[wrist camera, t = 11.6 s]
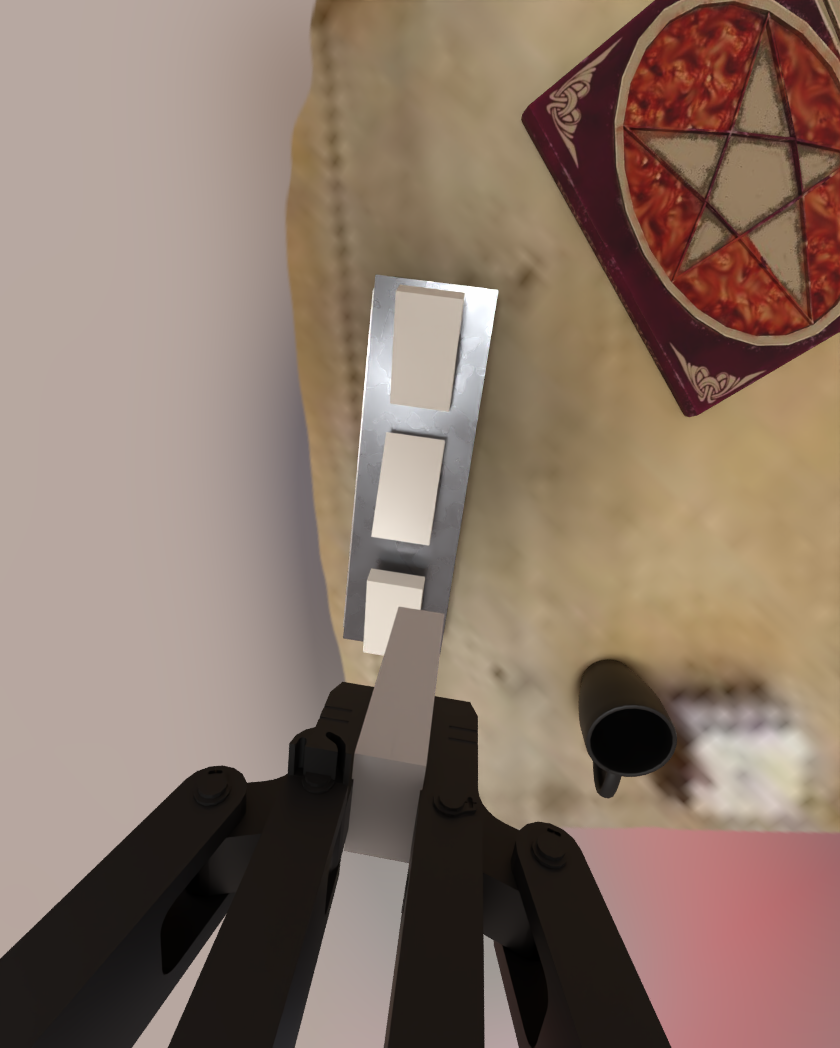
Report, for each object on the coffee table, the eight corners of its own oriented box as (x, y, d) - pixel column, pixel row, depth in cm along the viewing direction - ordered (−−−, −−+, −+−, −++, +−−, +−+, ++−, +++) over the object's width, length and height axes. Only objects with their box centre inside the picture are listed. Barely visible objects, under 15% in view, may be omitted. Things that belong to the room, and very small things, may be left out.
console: (383, 281, 48) (373, 274, 43) (496, 295, 47) (498, 290, 42) (351, 617, 59) (341, 640, 54) (442, 631, 58) (439, 656, 53)
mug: (549, 729, 61) (562, 795, 52) (582, 640, 57) (602, 695, 48) (619, 746, 61) (645, 816, 52) (657, 659, 57) (691, 717, 48)
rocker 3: (372, 559, 49) (365, 580, 47) (427, 568, 49) (423, 589, 46) (368, 629, 54) (362, 651, 52) (418, 637, 54) (414, 660, 51)
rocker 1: (401, 279, 41) (394, 290, 39) (467, 288, 41) (464, 299, 38) (395, 388, 47) (388, 403, 44) (453, 396, 46) (450, 412, 44)
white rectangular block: (389, 435, 48) (385, 431, 45) (446, 444, 48) (445, 440, 44) (375, 533, 48) (370, 536, 45) (431, 542, 48) (430, 545, 45)
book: (520, 126, 44) (524, 100, 39) (775, -86, 38) (816, -146, 33) (679, 413, 50) (699, 421, 45) (923, 269, 44) (975, 261, 39)
